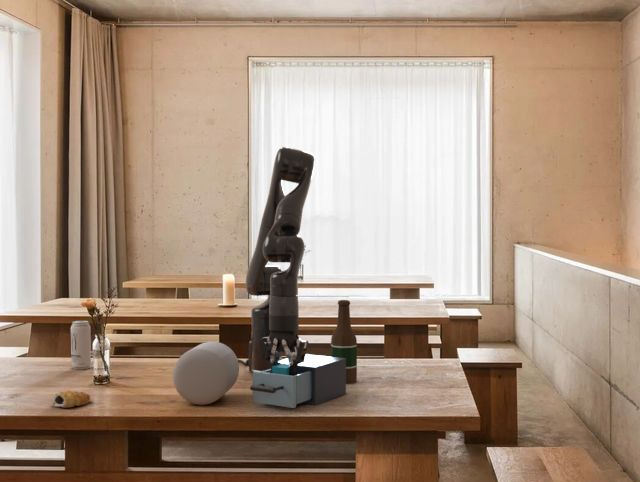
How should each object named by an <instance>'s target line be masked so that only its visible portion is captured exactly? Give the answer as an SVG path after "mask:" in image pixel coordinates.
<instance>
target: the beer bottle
mask: <svg viewBox="0 0 640 482" xmlns="http://www.w3.org/2000/svg"><path fill="white" fill-rule="evenodd" d="M337 305H338V310H337V311H338V312H337V324H336V328H335V329H334V331H333V332H332V335H331V338H330V339H331V340H330V357H338V358H346V385H348V384H353V383H356V382H357V380H358V379H357V377H358V340H357V336H356V334H355V331H354V329H352V324H351V312H350V305H351V301H350V300H348V299H340V300H338V301H337Z"/></svg>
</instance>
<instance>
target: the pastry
mask: <svg viewBox="0 0 640 482" xmlns="http://www.w3.org/2000/svg"><path fill="white" fill-rule="evenodd" d="M90 401H91V395H90V394H89V393H86V392H84V391H78V390H66V391H61V392H57V393H55V394H54V396H53V398H52V403H51V404H53V406H54V407H55V408H62V409H63V408H68V409H70V408H74V407H75V406H77V407H79V406H83V405H87V404H88V403H89V402H90Z"/></svg>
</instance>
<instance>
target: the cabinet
mask: <svg viewBox="0 0 640 482" xmlns="http://www.w3.org/2000/svg"><path fill="white" fill-rule="evenodd" d="M278 363H280V364H288V365H290V364H289V361H288V357H286V358H284V359H283V358H282V360H279V361H278ZM297 369H304V370H312V371H313V399H310V400H307V401H304V402H301V403H300V404H306V405H307V404H308V405H319V404H321V403H324V402H327V401H329V400H332V399H335V398H338V397H340V396H343V395H346V393H347V384H346V358H338V357H331V356H327V355H317V354H309V353H306V355H305V359H304V362H302V363H299V364H298V365H297Z"/></svg>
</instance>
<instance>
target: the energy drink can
mask: <svg viewBox="0 0 640 482" xmlns="http://www.w3.org/2000/svg"><path fill="white" fill-rule="evenodd" d="M91 339H92V337H91V325H90V323H89V320H74V321H72V324H71V326H70V357H71V358H70V361H71V362H70V363H71V365H70V366H71V367H72V368H73V370H78V371H80V370H81V371H82V370H88V369H90V367H91V366H92V345H91V344H92V342H91V341H92V340H91Z"/></svg>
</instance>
